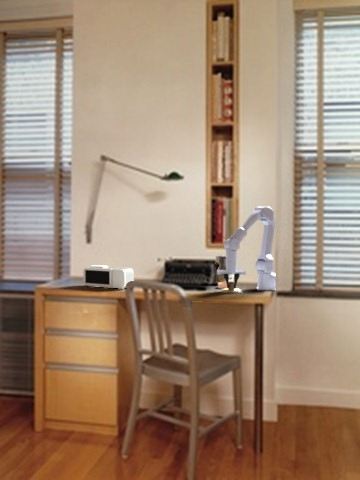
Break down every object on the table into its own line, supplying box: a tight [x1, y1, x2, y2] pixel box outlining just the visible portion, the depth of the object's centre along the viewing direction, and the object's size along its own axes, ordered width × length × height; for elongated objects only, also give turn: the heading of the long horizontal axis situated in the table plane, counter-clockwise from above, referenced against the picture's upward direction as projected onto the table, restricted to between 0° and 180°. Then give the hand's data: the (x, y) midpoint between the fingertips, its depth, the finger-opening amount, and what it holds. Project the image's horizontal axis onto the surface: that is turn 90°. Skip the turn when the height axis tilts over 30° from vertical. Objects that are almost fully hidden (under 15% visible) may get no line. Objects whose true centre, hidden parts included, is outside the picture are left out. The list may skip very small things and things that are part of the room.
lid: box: [221, 282, 242, 294], centre depth 276 cm, size 10×10×5 cm
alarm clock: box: [82, 264, 135, 290], centre depth 294 cm, size 27×9×12 cm, turn 63°
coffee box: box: [215, 254, 235, 285], centre depth 307 cm, size 9×6×16 cm
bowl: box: [217, 282, 229, 290], centre depth 288 cm, size 9×9×3 cm
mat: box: [220, 289, 244, 294], centre depth 276 cm, size 11×11×1 cm
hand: (231, 288), depth 276 cm, fingers open, 3 cm apart
